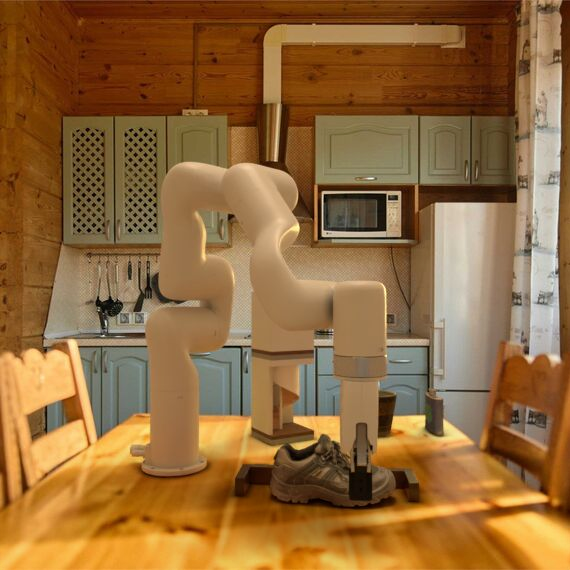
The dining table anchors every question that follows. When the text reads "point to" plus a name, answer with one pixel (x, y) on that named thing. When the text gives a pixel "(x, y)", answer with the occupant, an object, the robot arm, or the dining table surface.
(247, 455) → the dining table surface
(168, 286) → the robot arm
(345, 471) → the hiking shoe
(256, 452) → the dining table surface
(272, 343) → the cream pedestal stand
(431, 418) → the flask
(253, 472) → the bracket
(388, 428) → the ceramic cup
